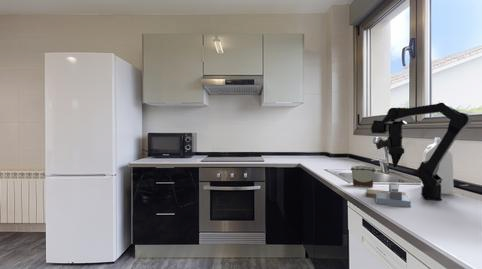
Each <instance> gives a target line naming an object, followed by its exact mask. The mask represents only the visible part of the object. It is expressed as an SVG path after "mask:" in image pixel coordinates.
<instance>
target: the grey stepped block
mask: <svg viewBox="0 0 482 269" xmlns="http://www.w3.org/2000/svg"><path fill="white" fill-rule="evenodd" d="M402 192H403V191H398V192H397V191H390V194H385V193H376V197H375V201H376V202H375V203H376V204H378V205H389V206H399V207H406V208H407V207H409V208H411V207H412V206H411V204H412V202H411V199H410V197H409V195H407V194H406V195H402Z"/></svg>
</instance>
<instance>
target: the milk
mask: <svg viewBox="0 0 482 269" xmlns="http://www.w3.org/2000/svg"><path fill="white" fill-rule="evenodd" d="M440 142H441V137H434V141H433V143H432V144H428V145H427V147H426V149H424V150H423V152H422V159H421V162H423V161H428V160H429V159H430V158H431V156H432V154H433V153H434V151H435V150H436V148H437V146H438V145H439V143H440ZM453 160H454V159H453V154H452V152H450V150H448V152H447V153H446V155H445V156H444V158H443V159H442V161H441V162H440V165H439V169H438V172H437V175H438V176H439V177H440V178H441V179H442V182H441V184H440V185H441V195H453V194H454V192H455V191H454V163H453V162H454V161H453ZM421 186H423V183H422V181H421V180H420V187H421Z"/></svg>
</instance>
